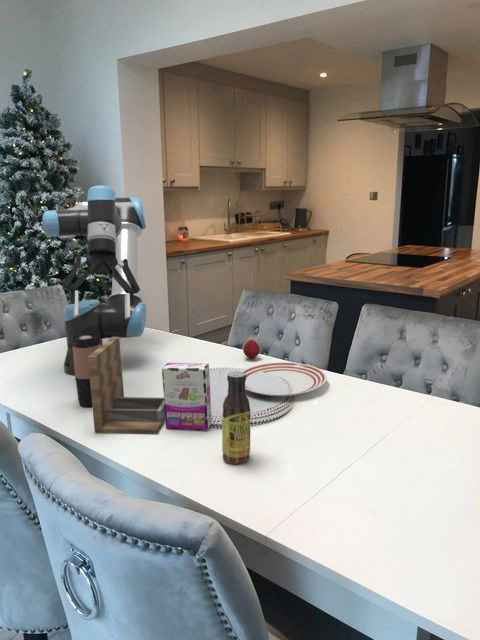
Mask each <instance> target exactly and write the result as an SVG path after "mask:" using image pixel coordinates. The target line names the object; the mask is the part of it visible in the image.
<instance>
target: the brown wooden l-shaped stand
mask: <svg viewBox="0 0 480 640" xmlns="http://www.w3.org/2000/svg"><path fill="white" fill-rule="evenodd" d="M88 366H89V377H90V387H91V397H92V407H91V408H92V415H93V416H92V419H93V424H94V425H93V428H94V434H126V435H127V434H128V435H129V434H134V435H135V434H136V435H137V434H138V435H158V434H159V432H160V430H161V429H162V426H163V425H164V423H165V422H166V421H165V406H164V397H154V396H153V397H150V396H148V397H143V396H140V397H139V396H125V392H124V380H123V379H124V377H123V367H122V366H123V365H122V355H121V342H120V338H119V337H111V338H108V339H107V341H105V342H103V345H102V346H100V347H99V348H98V349H97V350H95V351H94V352H93V353H92V354H90V355H89V356H88Z"/></svg>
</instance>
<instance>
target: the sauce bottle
mask: <svg viewBox="0 0 480 640" xmlns="http://www.w3.org/2000/svg"><path fill="white" fill-rule="evenodd" d="M226 378H227V379H226V380H227V383H228V384H227V395H226V396H225V398H224V401H223V403H222V415H221V416H222V423H221V424H222V427H221V430H222V433H221V434H222V438H221V440H222V441H221V443H222V444H221V445H222V448H221V449H222V459H223V460H224V461H225V462H226V463H230V464H236V465H237V464H243V463H245V462H247V461H249V459H250V453H251V419H252V418H251V414H252V412H251V406H250V400H249V397H248V396H247V393H246V391H247V390H246V389H245V381H246V374H245V373H244V372H242V371H238V370H237V371H230V372H228V373H227V377H226Z"/></svg>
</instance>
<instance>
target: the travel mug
mask: <svg viewBox="0 0 480 640" xmlns="http://www.w3.org/2000/svg"><path fill="white" fill-rule="evenodd" d="M99 347H100V338H99V334H98V333H85V334H84V335H77V334H76V335H74V336H72V348H73V359H74V369H75V375H74V377H75V384H76V385H75V386H76V392H77V399H78V405H79V407H81V408H87V409H88V408H90V409H91V408H92V397H91V387H90V377H89V366H88V356H89V355H90V354H92V353H93V352H94V351H95V350H97V349H98V348H99Z"/></svg>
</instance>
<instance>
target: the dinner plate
mask: <svg viewBox="0 0 480 640" xmlns="http://www.w3.org/2000/svg"><path fill="white" fill-rule="evenodd" d="M241 372H244V373H245V374H246V380H247V379H248V378H249V377H250V376H252V375H254V374H257V373H258V372H264V373H267V374H271V375H275V376H279V377H282V378H284V379H286V380H287V381H288V382H289V384H290V385H291V386H292V388H293V394H266V393H260V392H256V391H253V390H252V389H250V388H249V387H247V385H246V381H245V391H249V392H251V393H256V394H260V395H263V396H268V395H269V396H270V397H278V396H285V397H294V396H300V395H304V394H307V393H310V392H313V391H316V390H318V389H319V388H322V387H323V386H324V385H325V383H326V382H327V374H326V372H324V371H323V370H322V369H320V368H318V367H315V366H313V365H311V364H305V363H299V362H289V361H278V362H277V361H275V362H266V363H260V364H257V365H256V364H255V365H252V366H250V367H247V368H244V370H242V371H241ZM289 395H291V396H289ZM269 396H268V397H269Z"/></svg>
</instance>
